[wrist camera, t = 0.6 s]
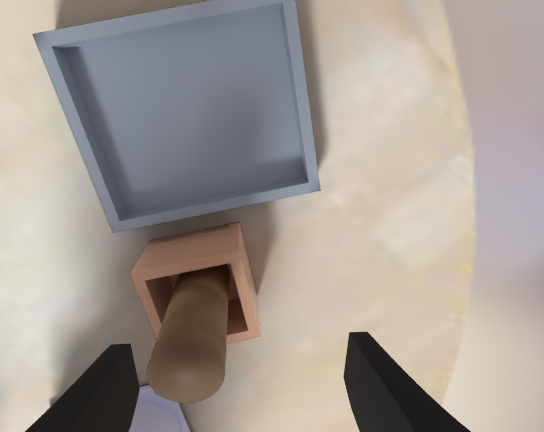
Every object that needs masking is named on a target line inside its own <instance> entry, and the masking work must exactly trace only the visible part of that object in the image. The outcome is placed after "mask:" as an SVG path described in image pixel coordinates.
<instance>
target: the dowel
mask: <svg viewBox="0 0 544 432" xmlns="http://www.w3.org/2000/svg"><path fill="white" fill-rule="evenodd" d="M229 284H230V271H229V267H228V265H227V264H222V265H218V266H213V267H208V268H203V269H199V270H194V271H189V272H184V273H179V276H178V279H177V282H176V285H175V288H174V291H173V294H172V297H171V299H170V302H169V305H168V308H167V311H166V314H165V317H164V320H163V323H162V326H161V329H160V332H159V335H158V338H157V341H156V344H155V347H154V350H153V353H152V356H151V359H150V361H149V364H148V367H147V380H148V383H149V385H150V387H151V388H152V389H153V391H154V392H155V393H157V394H158V395H159V396H161V397H163V398H165V399H167V400H170V401H174V402H180V403H191V402H197V401H201V400H203V399H206V398H208V397H210V396H211V395H213V394H214V393H215V392H216V391H217V390H218V389H219V388H220V386H221V385H222V383H223V380H224V375H225V358H226V340H227V321H228V302H229Z"/></svg>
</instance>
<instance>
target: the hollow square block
mask: <svg viewBox="0 0 544 432" xmlns="http://www.w3.org/2000/svg"><path fill="white" fill-rule="evenodd" d="M222 264H227V265H228V267H229V271H230V284H229V302H228V321H227V340H226V344H228V343H233V342H238V341H242V340H247V339H252V338H256V337H260V325H259V313H258V302H257V294H256V290H255V286H254V282H253V278H252V273H251V269H250V265H249V261H248V257H247V253H246V248H245V244H244V240H243V236H242V232H241V228H240V223H239V222H238V223H233V224H228V225H223V226H218V227H213V228H209V229H204V230H199V231H194V232H189V233H184V234H179V235H175V236H170V237H165V238H160V239H155V240H150V241H149V243H148V244H147V246H146V247H145V249H144V251H143V252H142V254H141V255H140V257H139V259H138V260H137V262H136V264H135V265H134V267H133V268H132V270H131V272H130V273H129V274H130V276H131V279H132V281H133V284H134V286H135V289H136V291H137V294H138V296H139V298H140V301H141V303H142V306H143V308H144V311H145V313H146V316H147V318H148V321H149V323H150V326H151V328H152V331H153V333H154V335H155V338H156V340H157V338H158V335H159V332H160V329H161V326H162V323H163V320H164V317H165V314H166V311H167V308H168V305H169V302H170V299H171V297H172V294H173V291H174V288H175V285H176V282H177V279H178V276H179V273H184V272H189V271H194V270H199V269H203V268H208V267H213V266H218V265H222Z"/></svg>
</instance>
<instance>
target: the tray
mask: <svg viewBox="0 0 544 432" xmlns="http://www.w3.org/2000/svg"><path fill="white" fill-rule="evenodd" d="M32 35H33V37H34V40H35V42H36V44H37V47H38V49H39V52H40V54H41V57H42V59H43V62H44V64H45V67H46V69H47V72H48V74H49V77H50V79H51V81H52V84H53V86H54V89H55V91H56V94H57V96H58V99H59V101H60V104H61V106H62V109H63V111H64V114H65V116H66V118H67V121H68V123H69V126H70V128H71V131H72V133H73V136H74V138H75V141H76V143H77V146H78V148H79V151H80V153H81V156H82V158H83V160H84V163H85V165H86V168H87V170H88V173H89V175H90V178H91V180H92V183H93V185H94V188H95V190H96V193H97V195H98V197H99V200H100V202H101V205H102V207H103V210H104V212H105V215H106V217H107V220H108V222H109V225H110V227H111V230H112V232H113V233H116V232H121V231H125V230H130V229H135V228H140V227H145V226H150V225H155V224H160V223H165V222H169V221H174V220H179V219H184V218H189V217H194V216H199V215H204V214H208V213H213V212H218V211H223V210H228V209H233V208H238V207H243V206H248V205H252V204H257V203H262V202H267V201H272V200H277V199H282V198H287V197H291V196H296V195H301V194H306V193H311V192H316V191H321V190H320V183H319V175H318V168H317V160H316V152H315V145H314V137H313V129H312V122H311V114H310V107H309V99H308V91H307V84H306V76H305V69H304V61H303V53H302V46H301V38H300V30H299V23H298V15H297V8H296V0H210V1H204V2H199V3H194V4H188V5H183V6H178V7H173V8H167V9H162V10H157V11H151V12H146V13H141V14H136V15H130V16H125V17H120V18H114V19H109V20H104V21H99V22H93V23H88V24H83V25H77V26H72V27H67V28H62V29H56V30H51V31H46V32H40V33H35V34H32Z"/></svg>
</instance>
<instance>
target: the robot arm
mask: <svg viewBox="0 0 544 432" xmlns="http://www.w3.org/2000/svg"><path fill="white" fill-rule="evenodd" d="M344 381H345V385H346V389H347V393H348V397H349V401H350V405H351V409H352V411H353V414H354V417H355V420H356V423H357V425H358V428H359V431H360V432H471V431H469V430H468V429H467V428H466V427H465V426H463V425H462V424H461V423H460V422H458V421H457V420H456V419H455V418H454V417H453V416H451V415H450V414H449V413H448V412H447V411H446V410H444V408H442V407H441V406H440V405H439V404H438V403H437V402H436V401H435V400H434V399H433V398H432V397H430V396H429V395H428V394H427V393H426V392H425V391H424V390H423V389H422V388H421V387H420V386H419V385H418V384H417V383H416V382H415V381H414V380H413V379H412V378H411V377H410V376H409V375H408V374H407V373H406V372H405V371H404V370H403V369H402V368H401V367H400V366H399V365H398V364H397V363H396V362H395V361H394V360H393V359H392V358H391V357H390V355H389V354H388V353H387V352H386V351H385V350H384V349H383V348H382V347H381V346H380V345H379V344H378V343H377V342H376V341H375V339H374V338H373V337H372V336H371V335H370V334H369V333H368V332H350V333H349V339H348V347H347V355H346V362H345V370H344ZM25 432H190V429H189V427H188V425H187V422H186V420H185V417H184V415H183V412H182V410H181V407H180V405H179V403H178V402H174V401H170V400H167V399H165V398H163V397H161V396H159V395H158V394H157V393H155V392H154V391H153V389H152V388H151V387H150V385H148V386H143V387H139V383H138V378H137V373H136V368H135V363H134V359H133V354H132V349H131V344H114V345H110V346H109V347H108V348H107V349H106V350H105V351H104V352H103V353H102V354H101V355H100V356H99V357H98V358H97V359H96V361H95V362H94V363H93V364H92V365H91V366H90V367H89V368H88V369H87V370H86V371H85V372H84V373H83V374H82V375H81V376H80V377H79V379H78V380H77V381H76V382H75V383H74V384H73V385H72V386H71V387H70V388H69V389H68V390H67V391H66V392H65V393H64V394H63V395H62V396H61V397H60V398H59V399H58V400H57V401H56V402H55V403H54V404H53V405H52V406H51V407H49V408H48V409H47V411H46V412H45V413H44V414H43V415H42V416H41V417H40V418H39V419H38V420H37V421H36V422H35V423H34V424H33V425H31V426H30V427H29V428H28V429H27V430H26V431H25Z"/></svg>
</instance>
